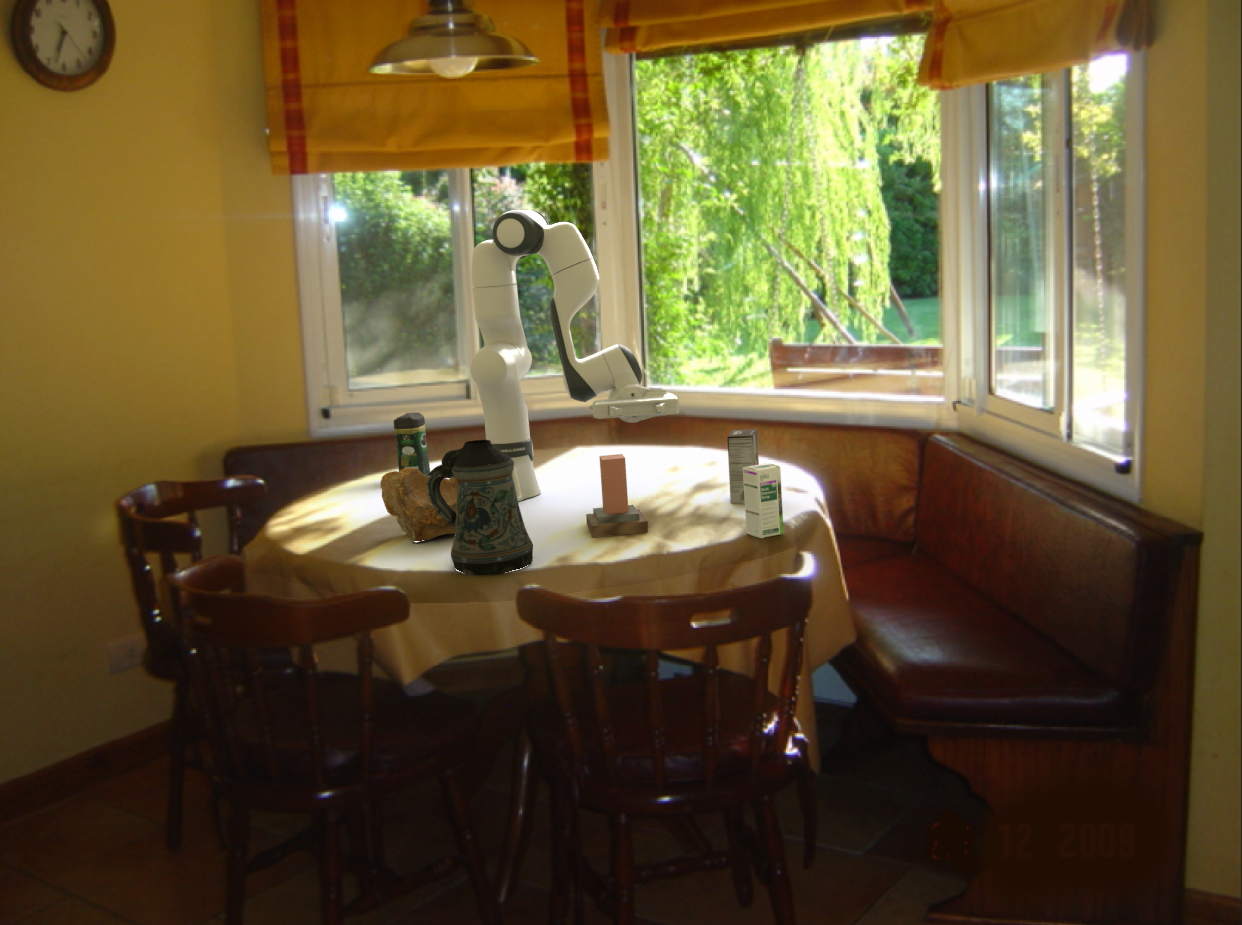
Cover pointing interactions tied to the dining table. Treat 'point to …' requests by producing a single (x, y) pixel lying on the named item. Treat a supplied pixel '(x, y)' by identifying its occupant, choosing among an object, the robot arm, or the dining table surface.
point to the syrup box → (763, 500)
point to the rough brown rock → (417, 503)
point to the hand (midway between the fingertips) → (639, 411)
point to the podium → (616, 522)
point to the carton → (614, 484)
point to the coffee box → (741, 459)
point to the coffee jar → (412, 442)
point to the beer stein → (482, 510)
